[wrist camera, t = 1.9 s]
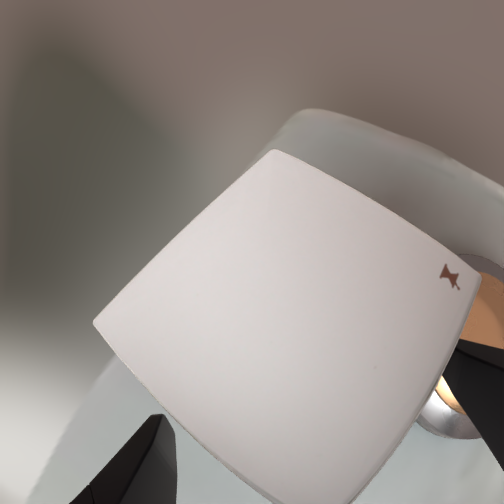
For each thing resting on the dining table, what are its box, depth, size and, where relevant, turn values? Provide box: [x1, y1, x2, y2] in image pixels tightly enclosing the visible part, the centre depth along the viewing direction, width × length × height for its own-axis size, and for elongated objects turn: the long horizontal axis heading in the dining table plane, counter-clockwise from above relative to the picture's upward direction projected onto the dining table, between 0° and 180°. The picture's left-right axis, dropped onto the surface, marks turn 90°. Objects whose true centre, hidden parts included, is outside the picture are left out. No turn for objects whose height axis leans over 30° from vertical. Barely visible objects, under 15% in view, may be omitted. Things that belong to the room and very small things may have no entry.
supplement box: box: [93, 149, 482, 504], centre depth 12 cm, size 7×7×13 cm
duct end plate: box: [415, 254, 504, 439], centre depth 15 cm, size 13×13×2 cm
